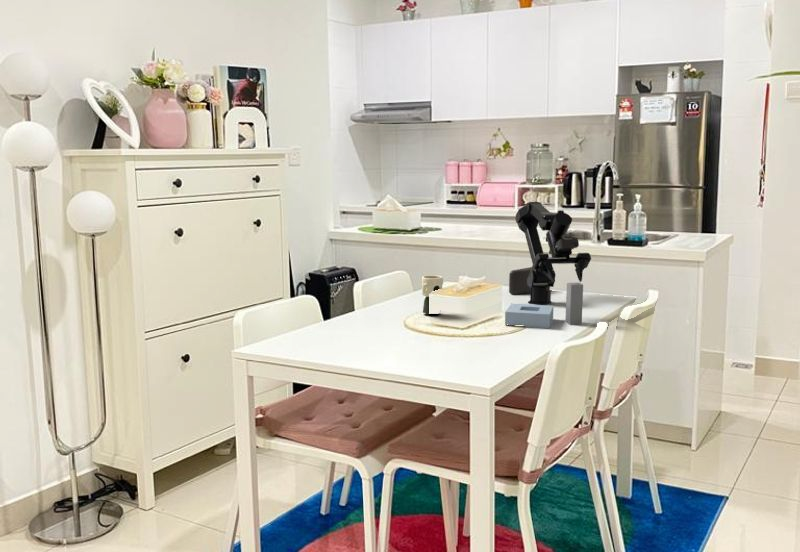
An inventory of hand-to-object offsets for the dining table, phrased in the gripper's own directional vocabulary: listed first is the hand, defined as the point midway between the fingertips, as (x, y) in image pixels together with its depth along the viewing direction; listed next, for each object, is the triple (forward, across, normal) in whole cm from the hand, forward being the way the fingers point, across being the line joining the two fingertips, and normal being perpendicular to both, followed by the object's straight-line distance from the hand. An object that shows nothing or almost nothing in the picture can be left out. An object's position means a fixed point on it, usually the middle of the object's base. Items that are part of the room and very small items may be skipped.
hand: (567, 281), depth 270 cm
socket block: (+11, -14, +7) cm, 19 cm away
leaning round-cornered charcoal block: (-25, 0, +43) cm, 50 cm away
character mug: (0, -43, +18) cm, 47 cm away
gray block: (+14, 0, +4) cm, 14 cm away
